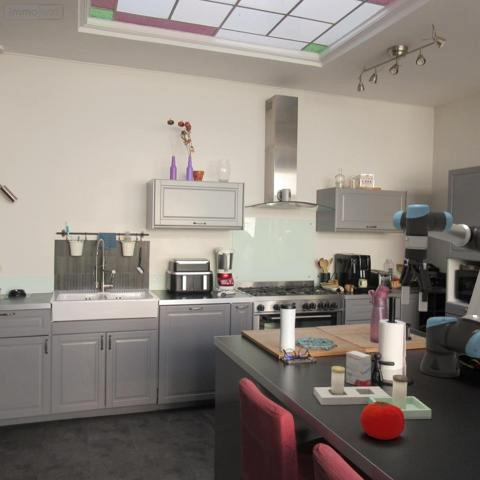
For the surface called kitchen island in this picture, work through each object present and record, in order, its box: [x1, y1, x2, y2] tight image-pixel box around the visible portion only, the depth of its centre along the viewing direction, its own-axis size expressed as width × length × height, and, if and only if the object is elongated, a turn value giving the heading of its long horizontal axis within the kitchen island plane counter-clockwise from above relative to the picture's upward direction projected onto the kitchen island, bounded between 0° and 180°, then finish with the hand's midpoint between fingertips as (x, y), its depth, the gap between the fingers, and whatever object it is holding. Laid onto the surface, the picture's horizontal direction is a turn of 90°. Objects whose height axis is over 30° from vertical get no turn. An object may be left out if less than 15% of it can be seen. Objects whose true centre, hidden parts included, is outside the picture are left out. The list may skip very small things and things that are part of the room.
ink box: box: [345, 350, 372, 387], centre depth 188 cm, size 9×5×12 cm, turn 33°
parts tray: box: [368, 395, 432, 420], centre depth 162 cm, size 16×12×3 cm
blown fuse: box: [391, 374, 409, 409], centre depth 162 cm, size 5×5×11 cm
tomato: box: [360, 401, 406, 441], centre depth 143 cm, size 11×13×10 cm
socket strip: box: [313, 365, 391, 406], centre depth 173 cm, size 24×10×11 cm, turn 97°
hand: (413, 307), depth 177 cm, fingers open, 13 cm apart
